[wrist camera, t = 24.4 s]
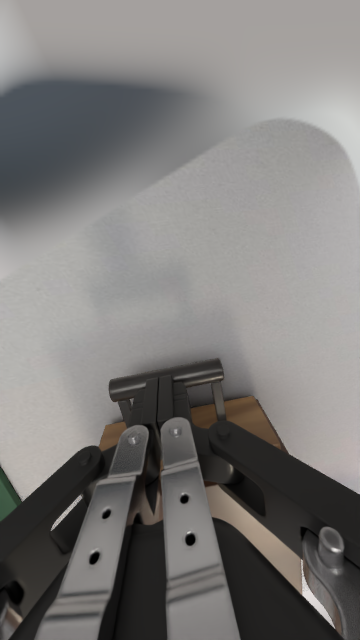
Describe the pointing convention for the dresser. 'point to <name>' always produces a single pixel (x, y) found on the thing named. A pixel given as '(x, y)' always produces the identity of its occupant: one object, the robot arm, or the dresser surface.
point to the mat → (7, 497)
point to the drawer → (192, 374)
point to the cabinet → (252, 528)
